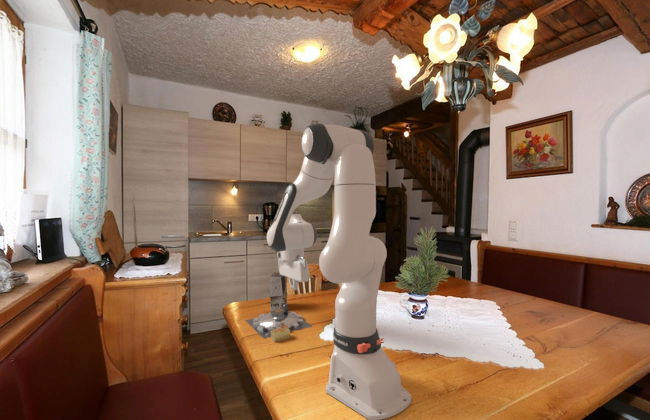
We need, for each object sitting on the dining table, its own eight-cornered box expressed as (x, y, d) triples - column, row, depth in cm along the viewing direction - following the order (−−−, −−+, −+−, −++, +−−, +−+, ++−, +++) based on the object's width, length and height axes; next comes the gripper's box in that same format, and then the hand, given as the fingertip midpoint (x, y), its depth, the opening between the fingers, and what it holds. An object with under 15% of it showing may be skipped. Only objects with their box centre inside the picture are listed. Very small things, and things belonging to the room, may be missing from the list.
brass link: (290, 341, 106) (290, 329, 105) (274, 345, 102) (274, 333, 102) (286, 337, 108) (286, 326, 108) (270, 342, 105) (270, 330, 105)
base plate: (312, 328, 116) (312, 326, 116) (263, 341, 105) (263, 338, 105) (289, 312, 133) (289, 310, 133) (245, 322, 122) (245, 320, 122)
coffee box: (284, 312, 133) (284, 276, 132) (269, 312, 133) (269, 276, 133) (287, 306, 142) (287, 272, 142) (273, 305, 142) (273, 271, 142)
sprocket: (310, 317, 124) (310, 304, 124) (287, 337, 106) (287, 321, 106) (270, 311, 131) (270, 299, 131) (242, 328, 113) (242, 314, 113)
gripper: (312, 256, 112) (314, 293, 112) (289, 251, 130) (290, 283, 130) (297, 258, 109) (299, 296, 109) (275, 252, 126) (276, 285, 126)
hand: (293, 289), depth 119 cm, fingers closed
